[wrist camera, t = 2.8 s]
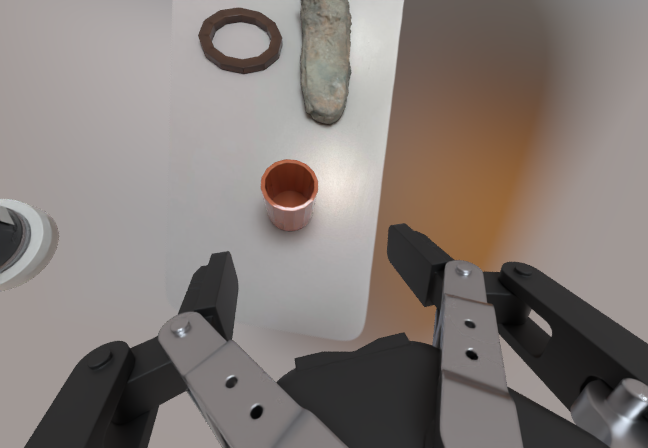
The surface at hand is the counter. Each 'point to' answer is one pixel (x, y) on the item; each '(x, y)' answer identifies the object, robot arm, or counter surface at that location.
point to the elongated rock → (325, 57)
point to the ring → (234, 63)
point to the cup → (289, 194)
